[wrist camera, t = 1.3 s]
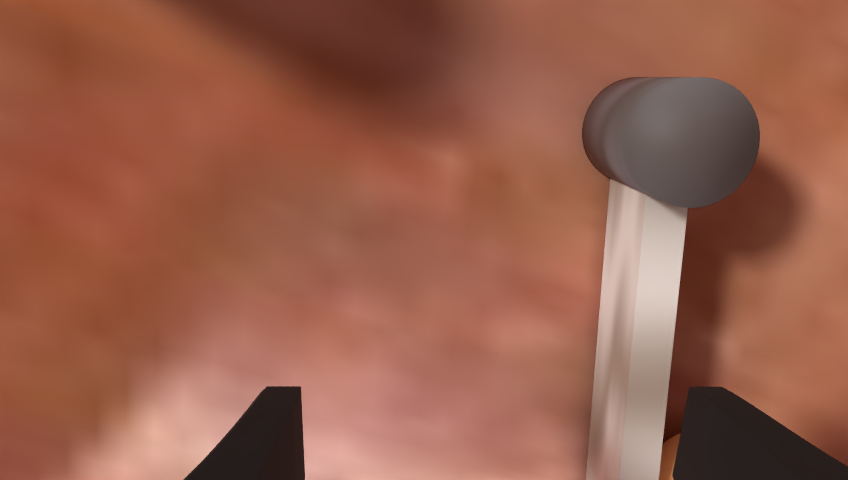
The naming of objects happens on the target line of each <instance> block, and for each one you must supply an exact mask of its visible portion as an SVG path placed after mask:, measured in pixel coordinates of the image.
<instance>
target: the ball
mask: <svg viewBox="0 0 848 480" xmlns="http://www.w3.org/2000/svg"><path fill="white" fill-rule="evenodd" d="M679 438H680V433H679V434H677V435H675V436H673V437H672V438H670V439H668V440H667V441H666V442H664V443H663V444H662V453H661V462H660V471H659V480H674V479H673V476H672V474H673V469H674V464H675V459H676V454H677V449H678V444H679Z"/></svg>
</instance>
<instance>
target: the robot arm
mask: <svg viewBox="0 0 848 480" xmlns="http://www.w3.org/2000/svg"><path fill="white" fill-rule="evenodd" d="M672 476H673V479H674V480H848V467H847V466H845V465H844V464H842V463H841V462H839V461H837V460H836V459H834V458H833V457H831V456H829V455H828V454H826V453H825V452H823V451H821V450H820V449H818V448H817V447H815V446H814V445H812V444H811V443H809V442H807V441H806V440H804V439H803V438H801V437H800V436H798V435H797V434H795V433H794V432H792V431H791V430H789V429H788V428H786V427H785V426H783V425H782V424H780V423H779V422H777V421H776V420H774V419H773V418H771V417H770V416H768V415H767V414H765V413H764V412H762V411H760V410H759V409H757V408H756V407H754V406H753V405H751V404H750V403H748V402H747V401H745V400H743V399H742V398H740V397H739V396H737V395H735V394H734V393H732V392H730V391H728V390H727V389H725V388H723V387H690V388H689V393H688V398H687V403H686V408H685V413H684V418H683V423H682V428H681V433H680V438H679V444H678V449H677V454H676V459H675V464H674V469H673V474H672ZM184 480H305V469H304V447H303V425H302V403H301V387H266V388H265V389H264V390H263V391H262V392H261V393H260V394H259V395H258V397H257V398H256V399H255V400H254V402H253V403H252V404H251V405H250V407H249V408H248V409H247V410H246V412H245V413H244V414H243V415H242V417H241V418H240V419H239V420H238V421H237V423H236V424H235V425H234V426H233V427H232V429H231V430H230V431H229V432H228V433H227V434H226V435H225V437H224V438H223V439H222V440H221V441H220V442H219V443H218V444H217V445H216V447H215V448H214V449H213V450H212V451H211V452H210V453H209V454H208V455H207V457H206V458H205V459H204V460H203V461H202V462H201V463H200V464H199V465H198V466H197V467H196V468H195V469H194V470H193V471H192V472H191V473H190V474H189V475H188V476H187V477H186V478H185V479H184Z"/></svg>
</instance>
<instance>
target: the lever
mask: <svg viewBox="0 0 848 480" xmlns="http://www.w3.org/2000/svg"><path fill="white" fill-rule="evenodd" d="M582 139H583V145H584V149H585V152H586V154H587V157H588V158H589V160H590V162H591V163H592V164H593V166H594V167H595V168H596V169H597V170H598V171H599V172H601V173H602V174H603V175H605V176H607V177H609V178H610V189H609V201H608V213H607V226H606V238H605V250H604V262H603V275H602V287H601V299H600V312H599V324H598V336H597V348H596V361H595V373H594V385H593V398H592V410H591V422H590V434H589V447H588V459H587V471H586V480H659V471H660V462H661V453H662V443H663V434H664V425H665V416H666V406H667V397H668V388H669V378H670V369H671V360H672V351H673V341H674V332H675V323H676V313H677V304H678V295H679V286H680V276H681V267H682V258H683V248H684V239H685V230H686V221H687V211H688V208H698V207H703V206H708V205H711V204H714V203H716V202H718V201H720V200H722V199H724V198H725V197H727V196H729V195H730V194H731V193H732V192H734V191H735V190H736V189H737V188H738V187H739V186H740V185H741V184H742V183H743V181H744V180H745V179H746V178H747V176H748V174H749V173H750V171H751V169H752V167H753V165H754V163H755V160H756V157H757V154H758V149H759V142H760V131H759V124H758V119H757V116H756V114H755V111H754V109H753V107H752V105H751V104H750V102H749V101H748V99H747V98H746V97H745V96H744V95H743V94H742V93H741V92H740V91H739V90H738V89H736V88H735V87H733V86H732V85H730V84H728V83H726V82H723V81H721V80H717V79H713V78H704V77H633V78H626V79H622V80H619V81H617V82H615V83H613V84H611V85H609V86H608V87H606V88H605V89H604V90H602V91H601V92H600V93H599V94H598V95H597V96H596V97H595V99H594V100H593V101H592V103H591V104H590V106H589V108H588V110H587V112H586V115H585V118H584V122H583V128H582Z"/></svg>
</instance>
